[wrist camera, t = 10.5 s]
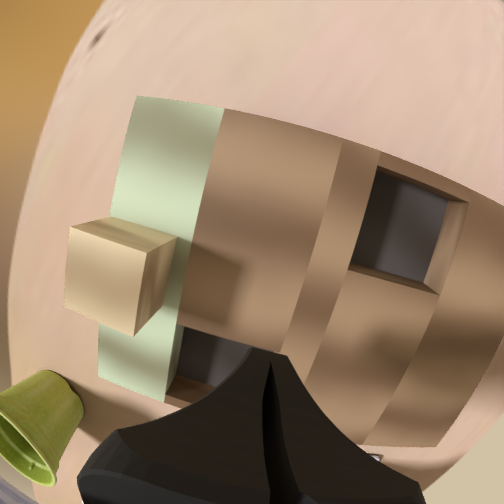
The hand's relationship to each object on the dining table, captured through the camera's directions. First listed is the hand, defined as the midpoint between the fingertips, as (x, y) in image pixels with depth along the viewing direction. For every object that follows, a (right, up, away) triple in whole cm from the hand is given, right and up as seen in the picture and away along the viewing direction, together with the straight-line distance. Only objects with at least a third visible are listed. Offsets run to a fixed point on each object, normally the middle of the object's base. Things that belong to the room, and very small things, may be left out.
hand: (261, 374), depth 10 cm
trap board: (+4, +1, +9) cm, 10 cm away
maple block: (-7, +4, +6) cm, 10 cm away
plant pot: (-19, -10, +14) cm, 25 cm away
